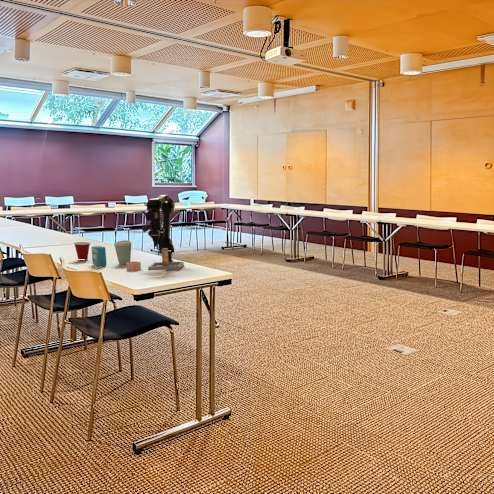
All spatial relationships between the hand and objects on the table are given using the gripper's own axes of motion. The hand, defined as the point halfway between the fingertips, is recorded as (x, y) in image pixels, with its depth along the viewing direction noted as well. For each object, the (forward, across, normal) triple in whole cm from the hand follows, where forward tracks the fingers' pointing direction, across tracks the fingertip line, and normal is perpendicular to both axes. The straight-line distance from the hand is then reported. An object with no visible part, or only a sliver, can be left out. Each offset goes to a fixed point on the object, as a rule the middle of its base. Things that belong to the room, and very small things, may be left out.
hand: (157, 245), depth 327 cm
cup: (+13, +12, -12) cm, 21 cm away
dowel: (+12, +8, +6) cm, 16 cm away
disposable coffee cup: (+13, -11, -24) cm, 30 cm away
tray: (+13, +6, +6) cm, 16 cm away
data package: (+13, -12, -40) cm, 44 cm away
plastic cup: (+13, -37, -59) cm, 71 cm away
